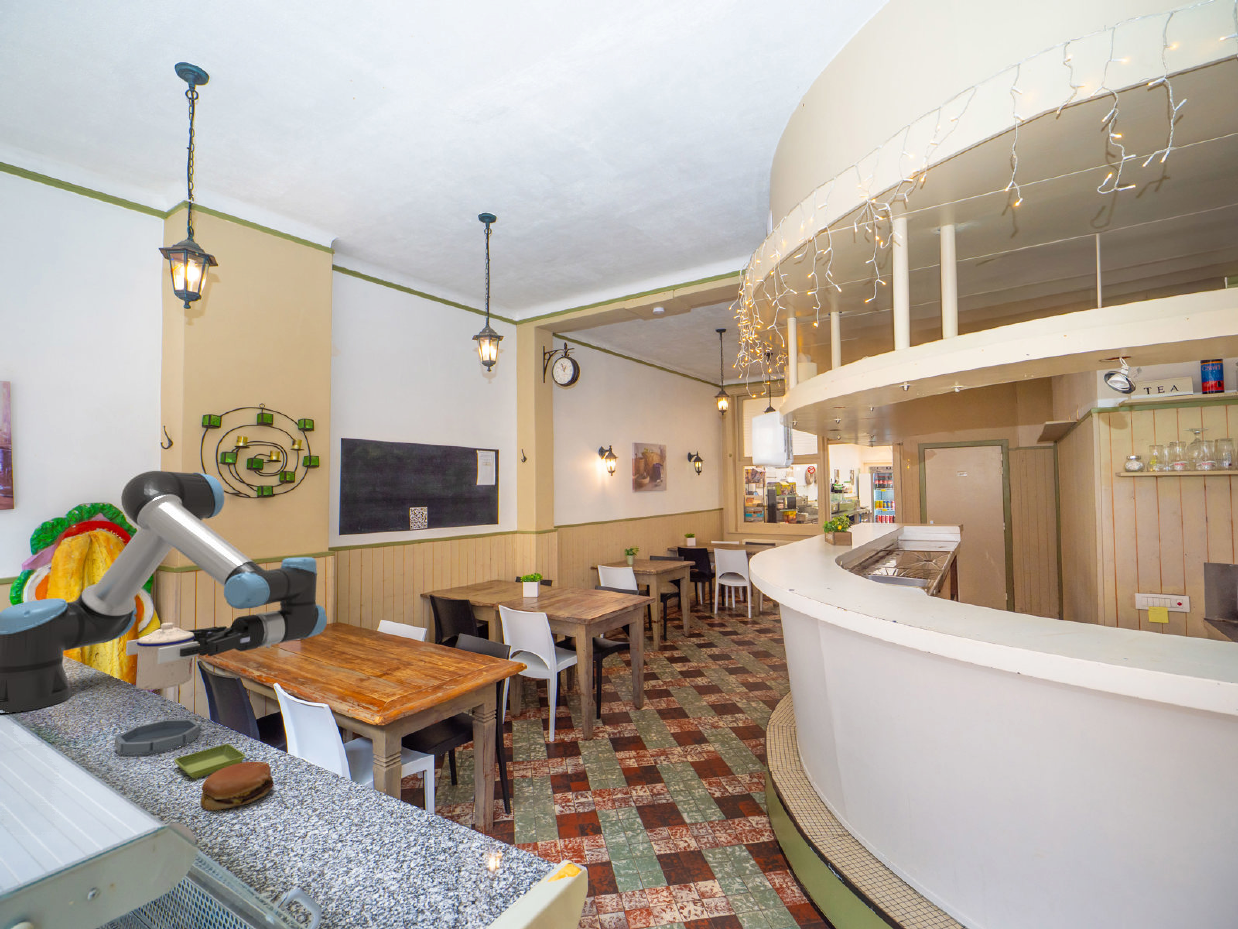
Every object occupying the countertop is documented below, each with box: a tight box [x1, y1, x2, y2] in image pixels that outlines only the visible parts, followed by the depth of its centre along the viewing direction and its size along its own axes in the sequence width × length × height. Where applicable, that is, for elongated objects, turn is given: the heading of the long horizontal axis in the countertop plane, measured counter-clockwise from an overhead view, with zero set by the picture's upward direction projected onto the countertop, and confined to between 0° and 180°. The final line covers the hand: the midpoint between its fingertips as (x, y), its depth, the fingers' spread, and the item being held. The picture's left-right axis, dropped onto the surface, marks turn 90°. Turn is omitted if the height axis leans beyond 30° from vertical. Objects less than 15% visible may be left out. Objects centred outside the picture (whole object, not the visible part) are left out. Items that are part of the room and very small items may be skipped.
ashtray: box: [114, 718, 202, 757], centre depth 116 cm, size 13×13×2 cm
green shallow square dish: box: [173, 743, 246, 780], centre depth 105 cm, size 9×9×2 cm
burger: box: [200, 761, 275, 812], centre depth 94 cm, size 10×9×5 cm
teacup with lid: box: [135, 622, 195, 691], centre depth 117 cm, size 12×9×12 cm
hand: (142, 652), depth 114 cm, fingers closed on teacup with lid, 12 cm apart
